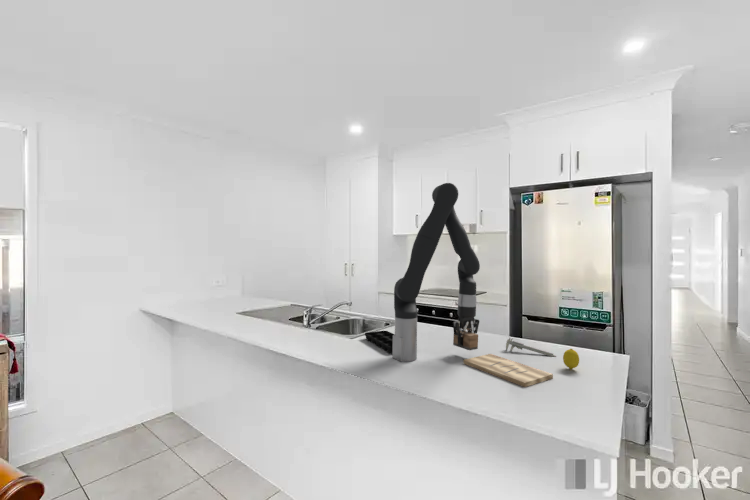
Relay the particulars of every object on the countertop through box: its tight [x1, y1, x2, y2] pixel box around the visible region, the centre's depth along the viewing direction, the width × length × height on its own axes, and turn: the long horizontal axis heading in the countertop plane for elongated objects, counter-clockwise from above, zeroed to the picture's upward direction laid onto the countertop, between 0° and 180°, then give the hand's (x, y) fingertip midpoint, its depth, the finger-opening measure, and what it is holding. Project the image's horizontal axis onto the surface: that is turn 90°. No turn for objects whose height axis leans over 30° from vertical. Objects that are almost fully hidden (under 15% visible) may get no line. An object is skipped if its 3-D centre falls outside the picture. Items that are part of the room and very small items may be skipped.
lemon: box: [562, 348, 580, 370], centre depth 142 cm, size 6×6×8 cm
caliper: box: [505, 337, 557, 358], centre depth 163 cm, size 20×1×6 cm, turn 65°
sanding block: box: [452, 330, 479, 351], centre depth 157 cm, size 9×5×6 cm, turn 35°
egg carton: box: [364, 330, 395, 355], centre depth 173 cm, size 18×30×4 cm, turn 38°
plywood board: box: [462, 353, 554, 388], centre depth 140 cm, size 16×28×2 cm, turn 32°
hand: (465, 344), depth 157 cm, fingers closed on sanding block, 5 cm apart
